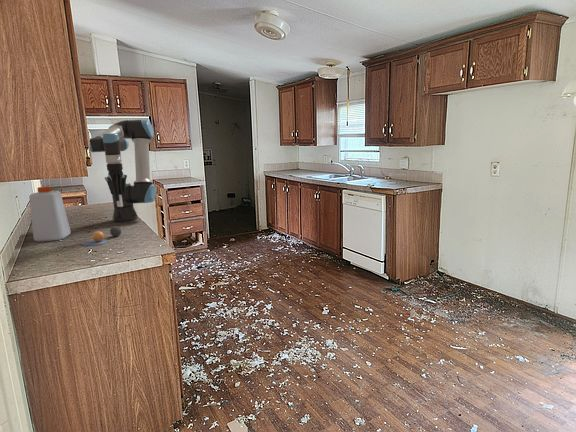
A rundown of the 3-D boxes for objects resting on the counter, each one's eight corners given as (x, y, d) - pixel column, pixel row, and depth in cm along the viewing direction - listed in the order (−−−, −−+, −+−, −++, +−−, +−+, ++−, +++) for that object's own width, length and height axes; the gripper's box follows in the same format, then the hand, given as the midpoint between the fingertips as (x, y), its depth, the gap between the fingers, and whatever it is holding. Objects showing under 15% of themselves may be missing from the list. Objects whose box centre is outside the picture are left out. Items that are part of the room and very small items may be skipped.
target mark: (80, 242, 185) (79, 242, 185) (105, 238, 192) (105, 237, 192) (83, 247, 176) (83, 247, 175) (110, 242, 183) (110, 242, 182)
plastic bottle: (31, 242, 188) (20, 189, 182) (44, 235, 203) (35, 186, 197) (62, 240, 191) (53, 188, 185) (73, 233, 206) (65, 184, 200)
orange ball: (98, 234, 189) (89, 240, 185) (98, 227, 186) (89, 232, 182) (106, 240, 189) (98, 245, 184) (107, 232, 186) (98, 237, 181)
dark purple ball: (112, 225, 197) (111, 235, 197) (109, 225, 192) (108, 236, 191) (122, 226, 198) (121, 236, 198) (120, 226, 193) (119, 237, 192)
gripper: (109, 164, 185) (115, 209, 190) (129, 162, 196) (134, 204, 201) (98, 164, 188) (105, 208, 193) (118, 162, 199) (124, 204, 204)
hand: (120, 206), depth 197 cm, fingers closed
